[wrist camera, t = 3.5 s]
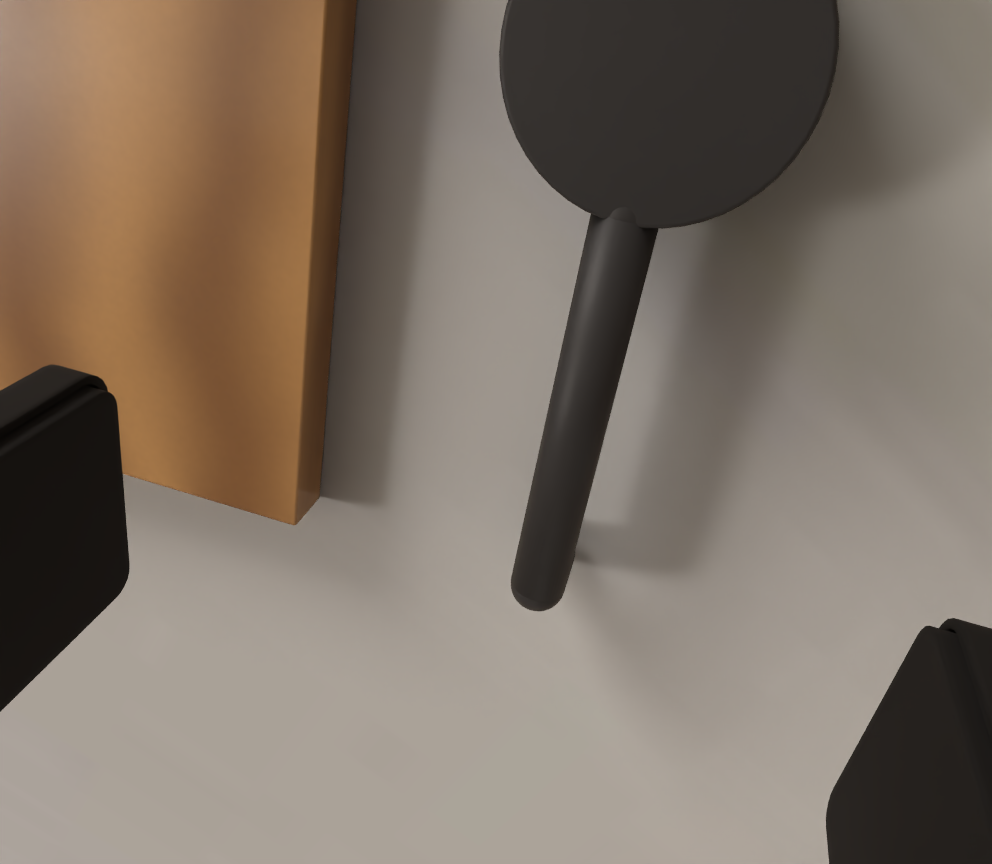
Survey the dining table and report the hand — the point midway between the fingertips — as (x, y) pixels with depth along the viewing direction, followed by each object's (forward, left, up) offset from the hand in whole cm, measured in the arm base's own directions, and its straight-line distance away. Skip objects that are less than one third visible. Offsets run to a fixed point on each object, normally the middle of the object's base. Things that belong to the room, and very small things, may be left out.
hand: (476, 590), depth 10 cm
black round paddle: (0, -1, -11) cm, 11 cm away
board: (+13, -1, -11) cm, 17 cm away
